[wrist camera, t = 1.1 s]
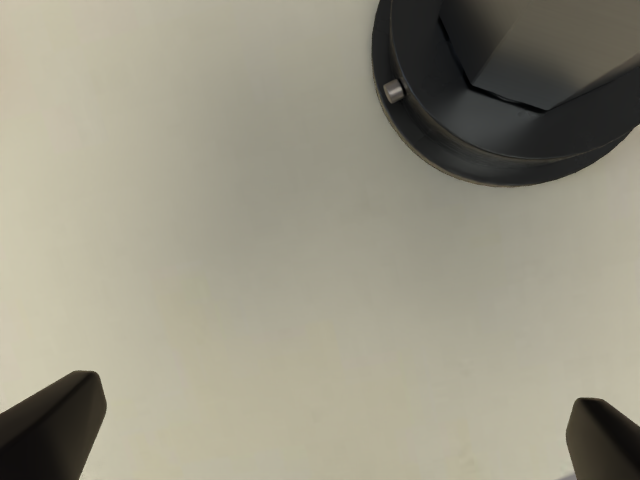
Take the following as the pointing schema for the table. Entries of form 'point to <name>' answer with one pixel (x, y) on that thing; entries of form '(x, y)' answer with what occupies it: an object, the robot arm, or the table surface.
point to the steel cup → (543, 45)
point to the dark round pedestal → (486, 108)
